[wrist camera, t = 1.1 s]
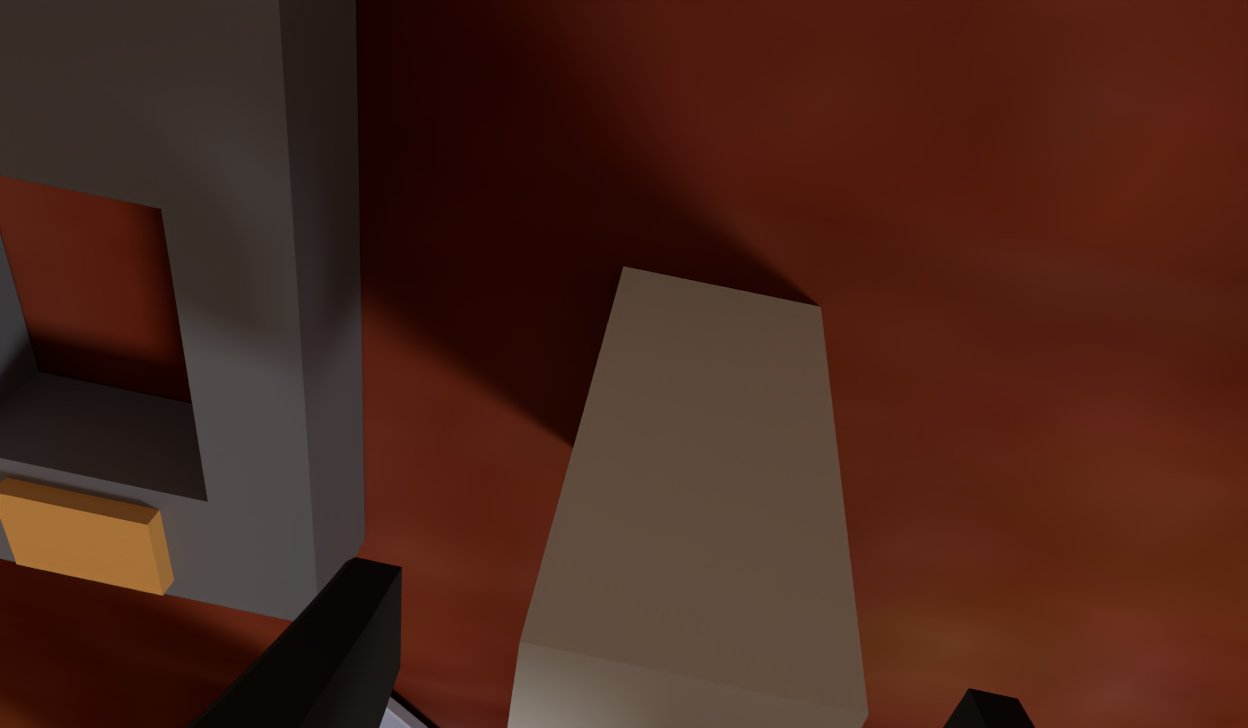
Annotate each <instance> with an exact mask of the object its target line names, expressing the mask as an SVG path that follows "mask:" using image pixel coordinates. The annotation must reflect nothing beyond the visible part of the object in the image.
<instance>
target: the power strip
mask: <svg viewBox="0 0 1248 728" xmlns="http://www.w3.org/2000/svg"><path fill="white" fill-rule="evenodd" d="M0 176H4V177H9V178H14V179H19V180H24V181H29V182H34V183H38V184H43V185H48V186H53V187H58V188H63V189H67V190H72V191H77V192H82V193H87V194H92V195H97V196H101V197H106V198H111V199H116V200H121V201H126V202H131V203H135V204H140V205H145V206H150V207H155V208H160V209H161V211H162V218H163V224H164V230H165V236H166V243H167V249H168V255H169V261H170V268H171V274H172V280H173V286H174V293H175V299H176V305H177V311H178V318H179V324H180V330H181V336H182V343H183V349H184V355H185V361H186V368H187V374H188V380H189V386H190V393H191V399H192V404H191V403H186V402H181V401H177V400H172V399H167V398H162V397H158V396H153V395H148V394H143V393H139V392H134V391H129V390H124V389H119V388H115V387H110V386H105V385H100V384H96V383H91V382H86V381H81V380H77V379H72V378H67V377H62V376H57V375H53V374H48V373H43V372H39V370H38V366H37V363H36V359H35V356H34V352H33V349H32V345H31V342H30V338H29V334H28V331H27V327H26V324H25V320H24V317H23V313H22V310H21V306H20V302H19V299H18V295H17V292H16V288H15V285H14V281H13V278H12V274H11V270H10V267H9V263H8V260H7V256H6V253H5V249H4V246H3V242H2V238H1V235H0V559H4V560H9V561H14V562H16V564H17V565H22V566H27V567H32V568H36V569H41V570H46V571H50V572H55V573H60V574H64V575H69V576H74V577H78V578H83V579H88V580H93V581H97V582H102V583H107V584H111V585H116V586H121V587H125V588H130V589H135V590H139V591H144V592H149V593H153V594H158V595H164V594H169V595H173V596H178V597H183V598H187V599H192V600H197V601H201V602H206V603H211V604H216V605H220V606H225V607H230V608H234V609H239V610H244V611H248V612H253V613H258V614H262V615H267V616H272V617H277V618H281V619H286V620H291V621H294V620H295V619H296V618H297V617H298V616H299V615H300V614H301V613H302V611H303V610H304V609H305V608H306V607H307V606H308V605H309V604H310V603H311V601H312V600H313V599H314V598H315V597H316V596H317V595H318V594H319V592H320V591H321V590H322V589H323V588H324V587H325V586H326V584H327V583H328V582H329V581H330V580H331V579H332V578H333V576H334V575H335V574H336V573H337V572H338V570H339V569H340V568H341V567H342V566H343V564H344V563H345V562H346V561H348V560H350V559H352V558H354V557H356V555H357V553H358V551H359V549H360V547H361V545H362V543H363V541H364V540H365V517H364V457H363V397H362V338H361V278H360V219H359V159H358V100H357V40H356V0H0Z"/></svg>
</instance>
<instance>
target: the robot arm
mask: <svg viewBox="0 0 1248 728" xmlns="http://www.w3.org/2000/svg"><path fill="white" fill-rule="evenodd" d="M401 587H402V567H399V566H394V565H390V564H385V563H380V562H375V561H371V560H366V559H361V558H357V557H354V558H352V559H350V560H348V561H346V562H345V563H344V564H343V566H342V567H341V568H340V569H339V570H338V572H337V573H336V574H335V575H334V576H333V578H332V579H331V580H330V581H329V582H328V583H327V584H326V586H325V587H324V588H323V589H322V590H321V591H320V592H319V594H318V595H317V596H316V597H315V598H314V599H313V600H312V601H311V603H310V604H309V605H308V606H307V607H306V608H305V609H304V610H303V611H302V613H301V614H300V615H299V616H298V617H297V618H296V619H295V620H294V621H293V622H292V623H291V624H290V625H289V626H288V628H287V629H286V630H285V631H284V632H283V633H282V634H281V635H280V636H279V637H278V638H277V639H276V640H275V641H274V642H273V643H272V644H271V646H270V647H269V648H268V649H267V650H266V651H265V652H264V653H263V654H262V655H261V656H260V657H259V658H258V659H257V660H256V661H255V662H254V663H253V664H252V665H251V666H250V667H249V668H248V669H247V670H246V671H245V672H244V673H243V674H242V675H241V676H240V677H239V678H238V679H237V680H236V681H235V682H234V683H233V684H232V685H231V686H230V687H229V688H228V689H227V690H226V691H225V692H224V693H223V694H222V695H221V696H220V697H218V698H217V699H216V700H215V701H214V702H213V703H212V704H211V705H210V706H209V707H208V708H207V709H206V710H205V711H204V712H203V713H202V714H200V715H199V716H198V717H197V718H196V719H195V720H194V721H193V722H192V723H191V724H190V725H188V726H187V727H186V728H428V727H427V726H426V725H425V724H423V723H422V722H421V721H420V720H418V719H417V718H416V717H415V716H414V715H412V714H411V713H410V712H409V711H408V710H406V709H405V708H404V707H403V706H401V705H400V704H399V703H398V702H397V701H395V700H394V699H393V698H392V697H391V696H390V695H391V692H392V689H393V686H394V683H395V680H396V678H397V675H398V672H399V669H400V649H401ZM943 728H1035V727H1034V725H1033V723H1032V722H1031V720H1030V718H1029V717H1028V715H1027V713H1026V712H1025V710H1024V708H1023V707H1022V705H1021V703H1020V702H1019V700H1018V699H1017V698H1012V697H1008V696H1003V695H998V694H994V693H989V692H984V691H980V690H975V689H970V688H969V689H968V691H967V692H966V694H965V695H964V697H963V698H962V700H961V701H960V703H959V704H958V706H957V707H956V709H955V710H954V712H953V713H952V715H951V717H950V718H949V720H948V721H947V723H946V724H945V726H944V727H943Z"/></svg>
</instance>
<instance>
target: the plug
mask: <svg viewBox="0 0 1248 728" xmlns="http://www.w3.org/2000/svg"><path fill="white" fill-rule="evenodd" d="M867 717H868V708H867V699H866V691H865V682H864V674H863V665H862V657H861V648H860V639H859V631H858V622H857V614H856V605H855V597H854V588H853V580H852V571H851V562H850V554H849V545H848V537H847V528H846V520H845V511H844V503H843V494H842V486H841V477H840V468H839V460H838V451H837V443H836V434H835V426H834V417H833V409H832V400H831V391H830V383H829V374H828V366H827V357H826V349H825V340H824V332H823V323H822V314H821V307H819V306H814V305H809V304H805V303H800V302H795V301H790V300H785V299H780V298H775V297H771V296H766V295H761V294H756V293H751V292H746V291H741V290H736V289H732V288H727V287H722V286H717V285H712V284H707V283H702V282H697V281H693V280H688V279H683V278H678V277H673V276H668V275H663V274H659V273H654V272H649V271H644V270H639V269H634V268H629V267H624V266H623V270H622V274H621V277H620V281H619V284H618V288H617V292H616V295H615V299H614V302H613V306H612V310H611V313H610V317H609V321H608V324H607V328H606V331H605V335H604V339H603V342H602V346H601V350H600V353H599V357H598V360H597V364H596V368H595V371H594V375H593V379H592V382H591V386H590V389H589V393H588V397H587V400H586V404H585V408H584V411H583V415H582V418H581V422H580V426H579V429H578V433H577V437H576V440H575V444H574V447H573V451H572V455H571V458H570V462H569V466H568V469H567V473H566V476H565V480H564V484H563V487H562V491H561V495H560V498H559V502H558V505H557V509H556V513H555V516H554V520H553V524H552V527H551V531H550V534H549V538H548V542H547V545H546V549H545V552H544V556H543V560H542V563H541V567H540V571H539V574H538V578H537V581H536V585H535V589H534V592H533V596H532V600H531V603H530V607H529V610H528V614H527V618H526V621H525V625H524V629H523V632H522V636H521V639H520V645H519V652H518V659H517V666H516V672H515V679H514V686H513V693H512V700H511V707H510V714H509V721H508V728H861V727H862V726H863V724H864V722H865V720H866V718H867Z"/></svg>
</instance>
